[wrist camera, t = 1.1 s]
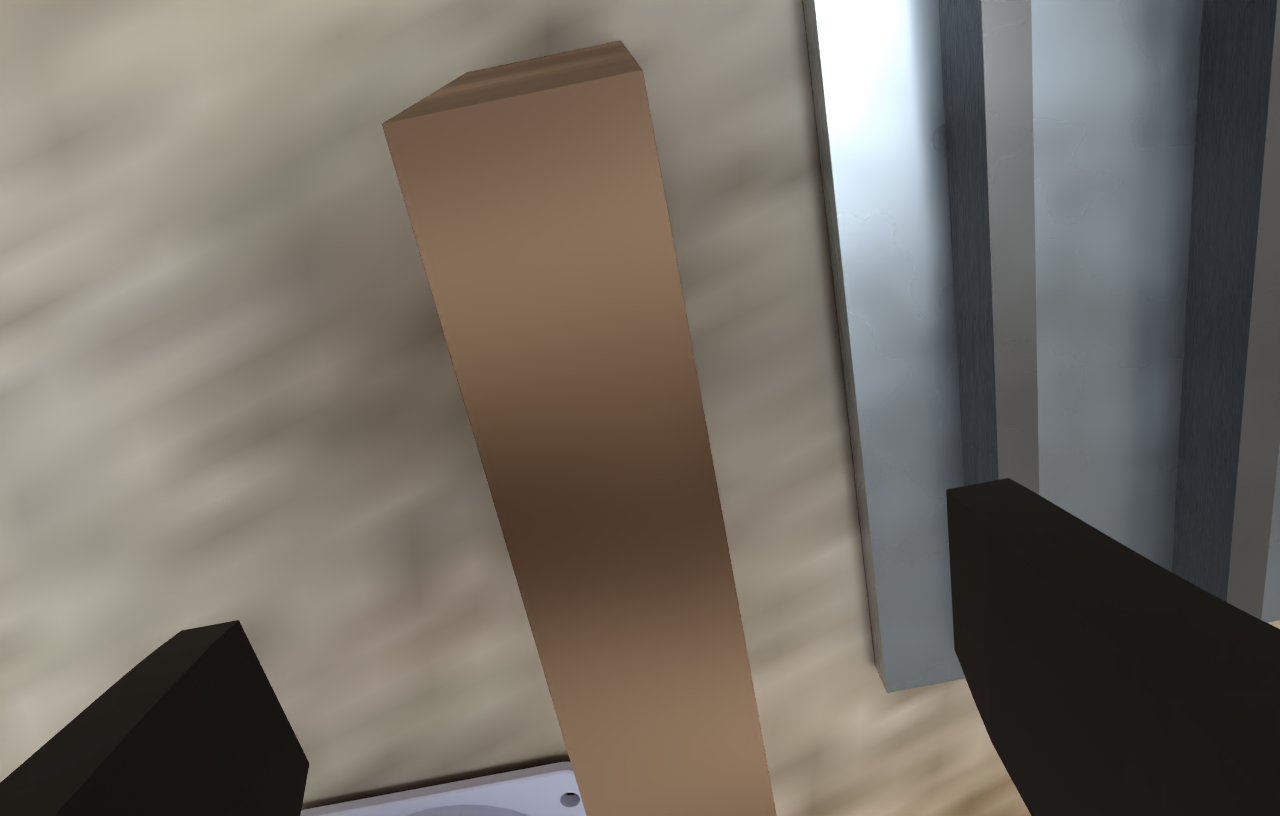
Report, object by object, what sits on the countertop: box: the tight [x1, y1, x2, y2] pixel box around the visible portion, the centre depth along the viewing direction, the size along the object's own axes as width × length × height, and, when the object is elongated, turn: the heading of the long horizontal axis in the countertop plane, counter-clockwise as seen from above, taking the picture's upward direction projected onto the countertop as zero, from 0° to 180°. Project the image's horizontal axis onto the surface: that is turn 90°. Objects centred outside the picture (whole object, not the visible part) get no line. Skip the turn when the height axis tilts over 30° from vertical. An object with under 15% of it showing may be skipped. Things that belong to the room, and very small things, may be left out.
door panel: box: [382, 41, 777, 816], centre depth 17 cm, size 12×3×8 cm, turn 11°
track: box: [803, 0, 1280, 693], centre depth 18 cm, size 20×10×3 cm, turn 11°
